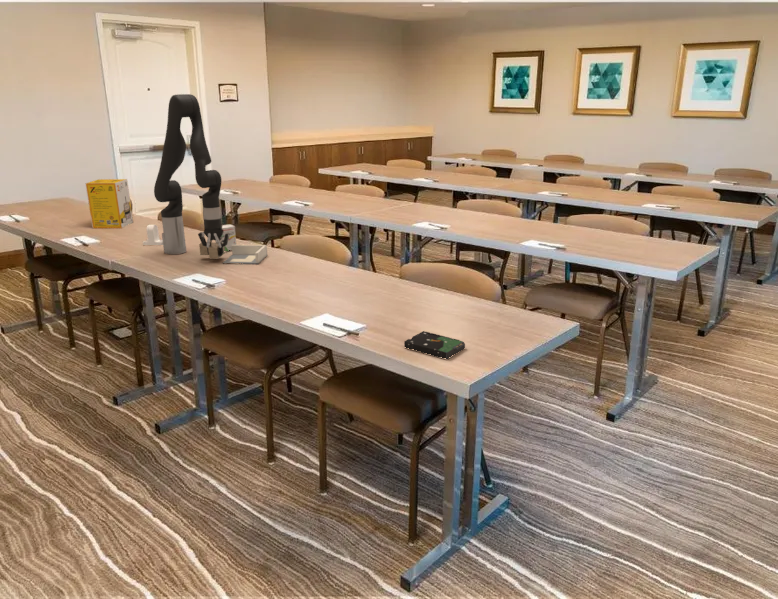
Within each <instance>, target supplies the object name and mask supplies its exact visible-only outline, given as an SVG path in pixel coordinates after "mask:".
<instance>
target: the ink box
mask: <svg viewBox="0 0 778 599" xmlns="http://www.w3.org/2000/svg"><path fill="white" fill-rule="evenodd" d="M222 229H223V231H224V232H226V233H230V235H229V239H228V243H227V245H226V246H224V251H228V252H230V251H229V250H232V245H237V238H236V226H235V225H233V224H230V223H229V224H222ZM221 239H222V243H223V242H224V235H222V236H221ZM214 241H215V243H217V241H216V240H214Z"/></svg>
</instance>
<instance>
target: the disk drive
mask: <svg viewBox="0 0 778 599" xmlns="http://www.w3.org/2000/svg"><path fill="white" fill-rule="evenodd" d="M403 344H404V347H406V348H409V349H414V350H417V351H421V352H424V353H427V354H431V355H434V356H433V357H435V356H438V357H442V358H446V359H448V358H449V357H451V356H452V355H454V354H455V355H457V354H459V353H460V352H462V351H464V350H465V349H464V348H466V343H465V341H463V340H460V339H456V338H452V337H448V336H444V335H440V334H437V333H432V332H429V331H425V330H423V331H421V332H419V333H417V334H415V335H413V336H411V338H408V339H406V340H404V343H403ZM404 347H403V348H404ZM406 348H405V349H406ZM409 349H408V350H409ZM461 350H462V351H461ZM417 351H416V352H417ZM459 351H460V352H459ZM458 352H459V353H458ZM424 353H423V354H424ZM456 353H457V354H456ZM427 354H426V355H427ZM431 355H430V356H431ZM455 355H454V356H455ZM438 357H437V358H438ZM452 357H453V356H452ZM452 357H451V358H452ZM442 358H441V359H442ZM449 359H450V358H449ZM449 359H448V360H449Z"/></svg>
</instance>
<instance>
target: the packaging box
mask: <svg viewBox="0 0 778 599" xmlns="http://www.w3.org/2000/svg"><path fill="white" fill-rule="evenodd" d="M85 190H86V197H87V200H88V208H89V213H90V220H91V226H92V229H123V228H125V227H127V226H129V225H131V224H132V223H134V219H133V218H134V217H133V212H132V211H133V210H132V205H131V204H132V202H131V198H130V197H131V196H130V190H129V182H128V178H116V179H114V178H112V179H110V178H108V179H105V178H104V179H102V178H101V179H100V178H99V179H95V180H93V181H90V182H86V183H85ZM128 224H129V225H128ZM126 225H127V226H126ZM124 226H125V227H124ZM122 227H123V228H122Z"/></svg>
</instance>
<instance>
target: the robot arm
mask: <svg viewBox="0 0 778 599" xmlns="http://www.w3.org/2000/svg"><path fill="white" fill-rule="evenodd" d="M167 110H168V112H167V123H166V124H167V125H166V131H165V138H164V142H163V147H162V154H161V160H160V166H159V169H158V173H157V176H156V178H155V179H156V180H155V182H154V188H153V193H154V198H155V199H156V201H157V202H159V203H168V204H167V206H166V207H165V208H164V207H163V209H161V211H160V217H161V224H162V225H161V226H162V233H161V237H162V239H161V240H163V246H162V247H163V253H164V254H167V255H181V254H185V253H187V244H186V236H185V227H184V221H183V220H184V219H183V207H184V206H183V194H182V188H181V184H180V182H178V181H177V180H174V179H173V180H172V177H173V175H174V173H175V172H176V171H177V170H178V169H179V167H180V166H182V164H183V162H184V160H185V156H186V151H187V143H186V140H185V138H184V135H183V133H182V130H181V125H182V119H183V118H189V120H190V122H191V136H190V140H189V148H190V152H191V155H192V159H193V162H194V176H195V182H196V184H197V185H198V186H199V187H200V188H201V189H208V190H207V191H206V192H204V193H203V194H202V196H201V201H202V216H203V217H202V218H203V228H204V230H203V231H200V232H199V233H197V235H198V239H199V240H200V243H202V245H203V246H206V247H207V251H208V247H210V246H211V243H213V241H215V240H216V241H217V243H218V246H219V256H221V257H222V256H223V255H224V254H223V247H224V246H226V245H227V243H228V239H229V235H230V233H226V232H224V231H223V229H222V225H223V223H222V222H223V220H222V211H221V207H220V206H221V205H220V194H221V188H222V176H221V173H220V172H219V171H218V170H215V169H211V170H207V169H206V167H207V166H208V165H210V164H211V163H212V157H211V155H210V151H209V148H208V145H207V142H206V138H205V132H204V125H203V118H202V114H201V107H200V103H199V100H198V98H197V97H196V96H195V95H194V94H191V93H190V94H187V93H186V94H184V93H183V94H182V93H181V94H173V95H171V97H170V99H169V103H168V109H167ZM222 235H224V242H223V243H222V239H221V236H222ZM205 236H206V238H207V239H206V238H205ZM216 241H215V242H216ZM208 254H209V251H208ZM222 254H223V255H222Z"/></svg>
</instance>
